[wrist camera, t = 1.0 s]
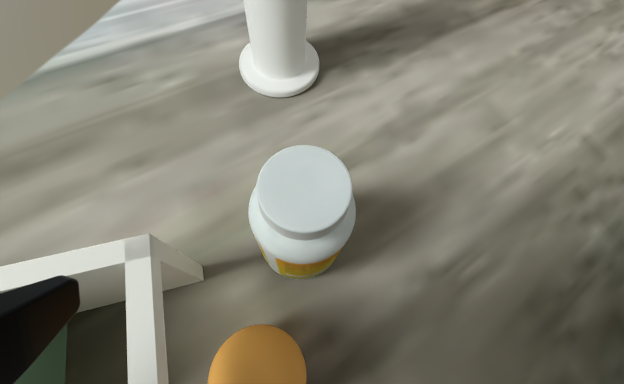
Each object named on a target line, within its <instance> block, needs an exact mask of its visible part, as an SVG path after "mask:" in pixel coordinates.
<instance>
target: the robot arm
mask: <svg viewBox="0 0 624 384" xmlns="http://www.w3.org/2000/svg"><path fill="white" fill-rule="evenodd" d="M79 307H80V292H79V283H78V281H77V280H76V279H74V278H71V277H67V276H64V275H59V276H55V277H52V278H49V279H46V280H42V281H39V282H36V283H33V284H29V285H26V286H23V287H19V288H16V289H13V290H10V291H6V292H3V293H0V384H14V383H15V382H16V381H17V380H18V379H19V378H20V377H21V376H22V374H23V373H24V372H25V371H26V370H27V369H28V368H29V367H30V366H31V365H32V364H33V363H34V362H35V360H36V359H37V358H38V357H39V356H40V355H41V353H42V352H43V351H44V350H45V349H46V348H47V346H48V345H49V344H50V343H51V342H52V341H53V339H54V338H55V337H56V336H57V335H58V334H59V332H60V331H61V330H62V329H63V328H64V327H65V325H66V324H67V323H68V322H69V321H70V320H71V318H72V317H73V316H74V315H75V314H76V312H77V311H78V309H79Z"/></svg>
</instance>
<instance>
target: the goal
mask: <svg viewBox="0 0 624 384" xmlns="http://www.w3.org/2000/svg"><path fill="white" fill-rule="evenodd" d="M59 275H64V276H67V277H71V278H74V279H76V280H77V281H78V283H79V292H80V307H79V309H78V311H77V312H76V313H78V312H82V311H86V310H90V309H94V308H98V307H102V306H106V305H110V304H114V303H118V302H122V301H126V325H127V364H128V384H169V380H168V366H167V351H166V337H165V322H164V308H163V293H162V291H165V290H169V289H173V288H177V287H181V286H185V285H189V284H193V283H197V282H201V281H204V276H203V268H202V265H200V264H198V263H197V262H195V261H194V260H192V259H190V258H189V257H187V256H185V255H184V254H182V253H180V252H179V251H177V250H175V249H174V248H172V247H171V246H169V245H167V244H166V243H164V242H162V241H161V240H159V239H157V238H156V237H154V236H152V235H151V234H144V235H140V236H135V237H131V238H126V239H122V240H117V241H113V242H109V243H104V244H100V245H95V246H91V247H86V248H82V249H77V250H73V251H68V252H64V253H59V254H55V255H50V256H46V257H41V258H37V259H33V260H28V261H24V262H19V263H15V264H10V265H6V266H1V267H0V293H3V292H6V291H10V290H13V289H16V288H19V287H23V286H26V285H29V284H33V283H36V282H39V281H42V280H46V279H49V278H52V277H55V276H59ZM67 327H68V323H67V324H66V325H65V327H64V328H63V329H62V330H61V331H60V332H59V334H58V335H57V336H56V337H55V338H54V339H53V341H52V342H51V343H50V344H49V345H48V346H47V348H46V349H45V350H44V351H43V352H42V353H41V355H40V356H39V357H38V358H37V359H36V360H35V362H34V363H33V364H32V365H31V366H30V367H29V368H28V369H27V370H26V371H25V372H24V373H23V374H22V376H21V377H20V378H19V379H18V380H17V381H16V382H15V383H14V384H65V373H66V350H67Z"/></svg>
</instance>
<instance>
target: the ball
mask: <svg viewBox="0 0 624 384" xmlns="http://www.w3.org/2000/svg"><path fill="white" fill-rule="evenodd" d="M306 378H307V375H306V365H305V361H304V357H303V354H302V352H301V350H300V348H299V346H298V345H297V343H296V342H295V341H294V339H293V338H292V337H291V336H290V335H289V334H287V333H286V332H285V331H283V330H281V329H279V328H277V327H274V326H270V325H262V324H261V325H253V326H249V327H246V328H243V329H241V330H239V331H238V332H236V333H235V334H233V335H232V336H231V337H229V338H228V339H227V340H226V341H225V342H224V344H223V345H222V346H221V347H220V349H219V350H218V352H217V354H216V355H215V357H214V360H213V362H212V365H211V368H210V371H209V377H208V384H306Z"/></svg>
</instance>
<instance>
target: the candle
mask: <svg viewBox="0 0 624 384" xmlns="http://www.w3.org/2000/svg"><path fill="white" fill-rule="evenodd" d="M243 1H244V7H245V13H246V19H247V25H248V31H249V37H250V43H248V44H247V45H246V47H245V48H244V49H243V51H242V53H241V55H240V59H239V68H240V72H241V75H242V78H243V79H244V81H245V82H246V84H247V85H248V86H249V87H250V88H252V89H253V90H255V91H256V92H258V93H260V94H263V95H266V96H270V97H290V96H294V95H297V94H299V93H301V92H303V91H305V90H306V89H308V88H309V87H310V86H311V85H312V84H313V83H314V81H315V80H316V78H317V76H318V73H319V57H318V54H317V52H316V50H315V49H314V48H313V46H312V45H311V44H310V43H309V42H307V41H306V19H307V0H243Z"/></svg>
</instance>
